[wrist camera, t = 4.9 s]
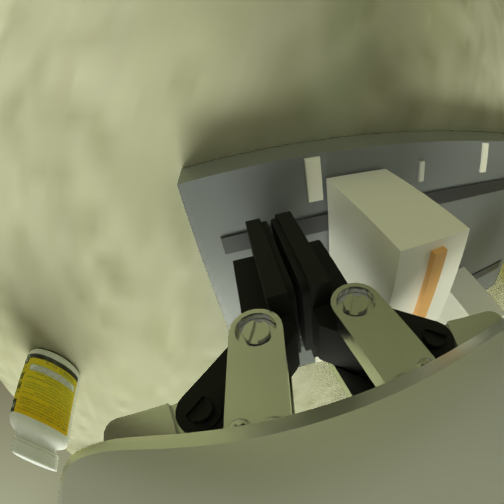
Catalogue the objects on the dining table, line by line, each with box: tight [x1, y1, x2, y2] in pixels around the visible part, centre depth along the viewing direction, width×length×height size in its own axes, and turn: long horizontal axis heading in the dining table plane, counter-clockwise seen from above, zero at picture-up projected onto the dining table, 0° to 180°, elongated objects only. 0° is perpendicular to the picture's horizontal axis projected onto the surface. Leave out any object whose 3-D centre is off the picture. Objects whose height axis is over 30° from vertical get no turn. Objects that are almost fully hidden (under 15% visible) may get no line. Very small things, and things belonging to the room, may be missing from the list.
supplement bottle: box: [10, 349, 80, 471], centre depth 14 cm, size 5×5×10 cm
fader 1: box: [326, 169, 470, 321], centre depth 9 cm, size 4×3×5 cm
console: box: [177, 131, 504, 367], centre depth 15 cm, size 14×24×2 cm, turn 100°
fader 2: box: [435, 267, 504, 325], centre depth 14 cm, size 4×3×5 cm
